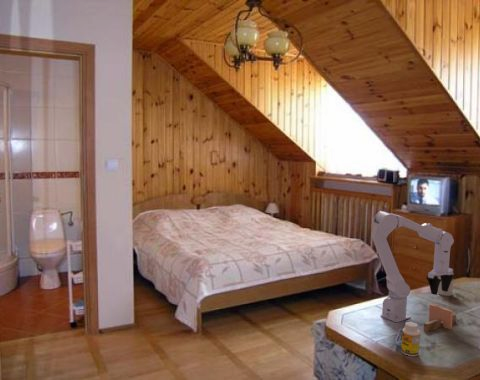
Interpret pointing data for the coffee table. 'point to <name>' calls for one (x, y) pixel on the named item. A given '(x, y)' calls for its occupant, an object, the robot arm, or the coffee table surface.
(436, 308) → the tan flat plank
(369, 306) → the coffee table surface
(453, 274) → the beverage can
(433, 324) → the walnut board
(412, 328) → the supplement bottle
